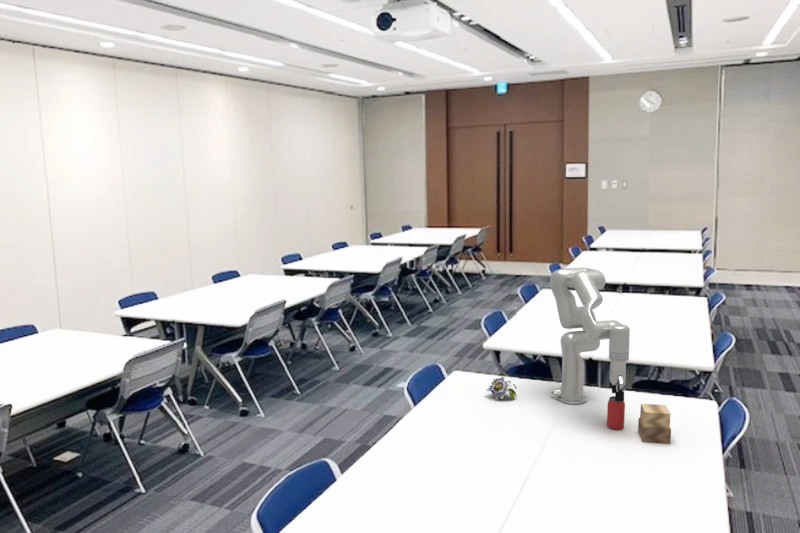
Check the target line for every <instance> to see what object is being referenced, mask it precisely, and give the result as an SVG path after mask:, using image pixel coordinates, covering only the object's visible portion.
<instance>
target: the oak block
mask: <svg viewBox="0 0 800 533" xmlns="http://www.w3.org/2000/svg"><path fill="white" fill-rule="evenodd" d="M639 418H640V419H641V421H642V423H643V425H644V427H648V428H663V429H671V427H670V426H671V413H670V411H669V408H667V406H666V405H665V404H656V403H654V404H650V403H640V414H639Z"/></svg>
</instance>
